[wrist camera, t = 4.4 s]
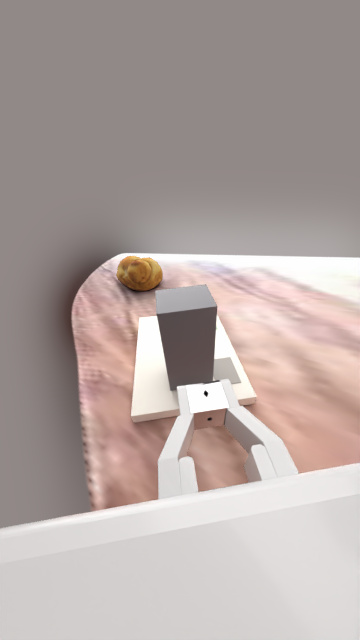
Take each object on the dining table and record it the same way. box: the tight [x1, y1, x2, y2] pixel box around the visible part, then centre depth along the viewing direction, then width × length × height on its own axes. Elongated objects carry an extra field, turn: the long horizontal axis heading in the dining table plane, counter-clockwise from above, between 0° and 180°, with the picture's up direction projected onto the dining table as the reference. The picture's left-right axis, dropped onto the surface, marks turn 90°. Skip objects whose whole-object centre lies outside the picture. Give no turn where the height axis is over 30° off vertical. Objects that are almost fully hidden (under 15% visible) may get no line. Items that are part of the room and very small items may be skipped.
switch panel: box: [131, 315, 257, 423], centre depth 28 cm, size 18×14×2 cm
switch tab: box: [156, 284, 217, 391], centre depth 20 cm, size 4×5×11 cm
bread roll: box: [116, 256, 163, 291], centre depth 47 cm, size 13×10×8 cm
